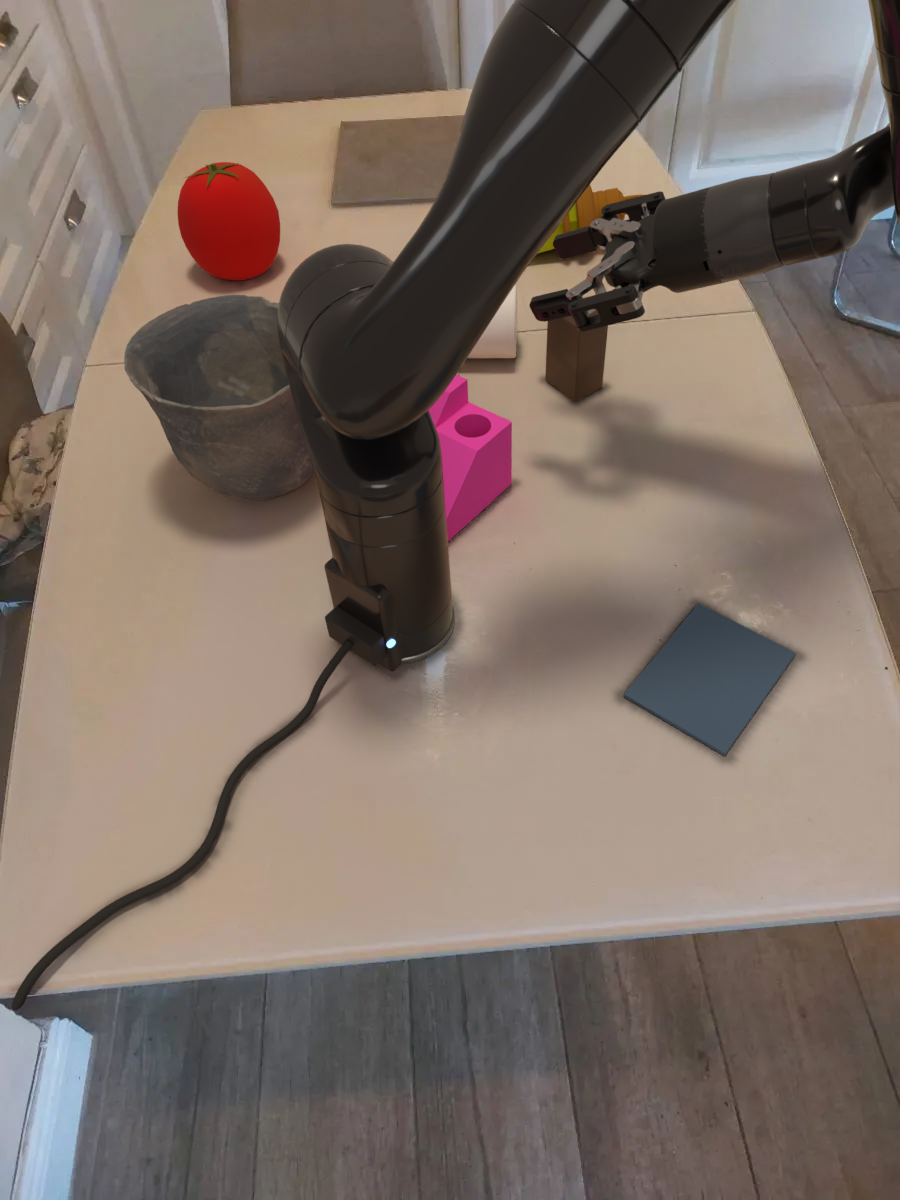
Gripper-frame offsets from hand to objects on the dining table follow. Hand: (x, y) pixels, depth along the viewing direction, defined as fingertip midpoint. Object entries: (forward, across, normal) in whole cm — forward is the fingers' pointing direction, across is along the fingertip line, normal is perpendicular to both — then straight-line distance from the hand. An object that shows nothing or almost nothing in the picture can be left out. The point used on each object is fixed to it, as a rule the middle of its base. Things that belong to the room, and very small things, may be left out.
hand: (545, 278), depth 83 cm
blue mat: (-14, +30, +20) cm, 39 cm away
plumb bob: (+15, -33, +18) cm, 40 cm away
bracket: (+13, +16, +11) cm, 23 cm away
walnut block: (+6, -5, +17) cm, 19 cm away
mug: (+18, -10, +13) cm, 24 cm away
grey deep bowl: (+30, +17, +3) cm, 34 cm away
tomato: (+50, -18, 0) cm, 53 cm away
